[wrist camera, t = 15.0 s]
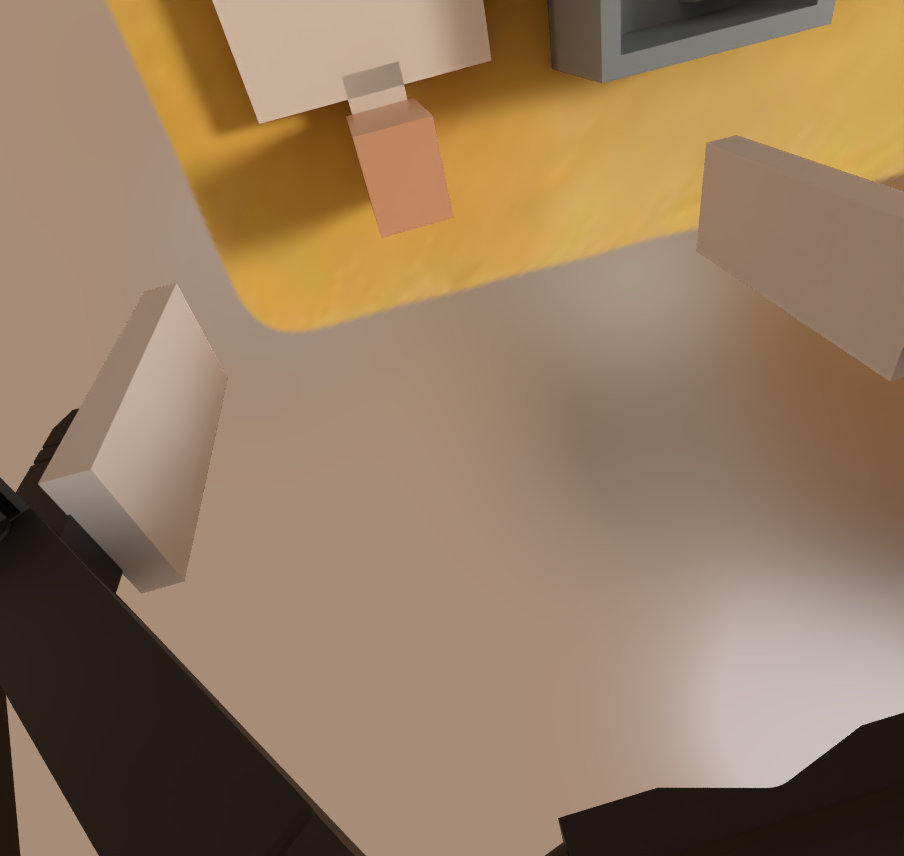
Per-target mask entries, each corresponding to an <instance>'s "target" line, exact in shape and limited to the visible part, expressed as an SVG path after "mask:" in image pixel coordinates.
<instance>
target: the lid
mask: <svg viewBox="0 0 904 856" xmlns="http://www.w3.org/2000/svg"><path fill="white" fill-rule="evenodd" d="M212 1H213V4H214V6H215V9H216V12H217V14H218V17H219V20H220V22H221V25H222V27H223V30H224V33H225V35H226V38H227V41H228V43H229V46H230V49H231V51H232V54H233V56H234V59H235V62H236V64H237V67H238V70H239V72H240V75H241V77H242V80H243V83H244V85H245V88H246V91H247V93H248V96H249V98H250V101H251V104H252V106H253V109H254V112H255V114H256V117H257V120H258V122H259V124H261V123H265V122H268V121H272V120H276V119H279V118H283V117H287V116H290V115H294V114H298V113H301V112H305V111H309V110H312V109H316V108H320V107H323V106H327V105H331V104H334V103H338V102H342V101H345V100H348V102H349V106H350V109H351V113H352V115H349V116H346V118H347V122H348V125H349V129H350V132H351V136H352V139H353V143H354V146H355V149H356V153H357V156H358V160H359V163H360V167H361V170H362V174H363V177H364V181H365V184H366V187H367V191H368V194H369V198H370V201H371V205H372V208H373V211H374V214H375V218H376V221H377V224H378V227H379V230H380V234H381V237H382V238H383V237H386V236H390V235H394V234H397V233H401V232H404V231H408V230H411V229H415V228H418V227H422V226H425V225H429V224H433V223H436V222H440V221H443V220H447V219H450V218H453V214H452V209H451V204H450V199H449V194H448V189H447V184H446V179H445V174H444V169H443V164H442V159H441V154H440V149H439V144H438V139H437V134H436V129H435V125H434V120H433V115H432V114H431V113H429V112H428V111H427V110H426V109H425V108H424V107H423V106H422V105H421V104H420V103H419V102H418V101H417V100H416V99H414V98H411V99H407V96H406V91H405V87H404V84H408V83H411V82H415V81H419V80H422V79H426V78H430V77H433V76H437V75H441V74H444V73H448V72H452V71H455V70H459V69H463V68H466V67H470V66H474V65H477V64H481V63H485V62H488V61H491V54H490V47H489V39H488V32H487V24H486V17H485V10H484V2H483V0H212Z"/></svg>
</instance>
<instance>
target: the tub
mask: <svg viewBox="0 0 904 856" xmlns="http://www.w3.org/2000/svg"><path fill="white" fill-rule="evenodd" d="M835 1H836V0H548V13H549V28H550V43H551V58H552V69H554V70H558V71H561V72H565V73H568V74H572V75H575V76H579V77H582V78H586V79H589V80H593V81H596V82H600V83H605V82H609V81H612V80H616V79H620V78H624V77H628V76H632V75H635V74H639V73H643V72H647V71H651V70H655V69H659V68H662V67H666V66H670V65H674V64H678V63H682V62H685V61H689V60H693V59H697V58H701V57H705V56H709V55H712V54H716V53H720V52H724V51H728V50H732V49H736V48H739V47H743V46H747V45H751V44H755V43H759V42H762V41H766V40H770V39H774V38H778V37H782V36H786V35H789V34H793V33H797V32H801V31H805V30H809V29H812V28H816V27H820V26H824V25H828V24H831V21H832V16H833V11H834V6H835Z"/></svg>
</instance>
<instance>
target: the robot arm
mask: <svg viewBox="0 0 904 856" xmlns="http://www.w3.org/2000/svg"><path fill="white" fill-rule="evenodd" d="M696 251H697V252H698V253H700V254H702V255H703V256H705V257H706V258H708V259H709V260H710V261H712V262H713V263H715V264H716V265H718V266H719V267H721V268H722V269H724V270H725V271H727V272H728V273H730V274H731V275H733V276H734V277H736V278H737V279H739V280H740V281H742V282H743V283H744V284H746V285H747V286H749V287H750V288H752V289H753V290H755V291H757V292H758V293H759V294H761V295H762V296H764V297H765V298H767V299H768V300H770V301H771V302H773V303H774V304H776V305H777V306H779V307H780V308H782V309H783V310H785V311H786V312H788V313H789V314H791V315H792V316H794V317H795V318H796V319H798V320H799V321H801V322H802V323H804V324H805V325H807V326H808V327H810V328H811V329H813V330H814V331H816V332H817V333H819V334H820V335H822V336H823V337H825V338H826V339H828V340H829V341H831V342H832V343H834V344H835V345H837V346H838V347H840V348H841V349H843V350H844V351H846V352H847V353H848V354H850V355H851V356H853V357H855V358H856V359H857V360H859V361H860V362H862V363H863V364H865V365H866V366H868V367H869V368H871V369H872V370H874V371H875V372H877V373H878V374H880V375H881V376H883V377H884V378H886V379H887V380H889V381H894V380H897V379H901V378H904V192H903V191H900V190H897V189H894V188H891V187H888V186H885V185H882V184H879V183H876V182H873V181H870V180H867V179H864V178H861V177H859V176H856V175H853V174H850V173H847V172H844V171H841V170H838V169H835V168H832V167H829V166H826V165H823V164H820V163H817V162H814V161H811V160H808V159H805V158H802V157H799V156H796V155H793V154H790V153H787V152H785V151H782V150H779V149H776V148H773V147H770V146H767V145H764V144H761V143H758V142H755V141H752V140H749V139H746V138H743V137H740V136H737V135H735V136H731V137H728V138H724V139H720V140H716V141H712V142H709V143H706V153H705V164H704V175H703V186H702V196H701V207H700V218H699V229H698V240H697V250H696ZM227 380H228V378H227V376H226V374H225V372H224V370H223V368H222V366H221V365H220V363H219V361H218V359H217V357H216V355H215V353H214V352H213V350H212V348H211V346H210V345H209V342H208V341H207V339H206V337H205V335H204V333H203V331H202V329H201V328H200V326H199V324H198V322H197V320H196V318H195V317H194V315H193V313H192V311H191V309H190V308H189V306H188V304H187V302H186V300H185V298H184V296H183V294H182V293H181V291H180V289H179V287H178V285H177V283H174V284H171V285H167V286H163V287H159V288H156V289H152V290H148V291H145V292H144V293H143V295H142V297H141V298H140V300H139V302H138V304H137V306H136V307H135V309H134V311H133V313H132V315H131V316H130V318H129V320H128V322H127V324H126V325H125V327H124V329H123V331H122V333H121V335H120V336H119V338H118V340H117V342H116V344H115V345H114V347H113V349H112V351H111V353H110V354H109V356H108V358H107V360H106V362H105V363H104V365H103V367H102V369H101V371H100V372H99V374H98V376H97V378H96V380H95V381H94V383H93V385H92V387H91V389H90V390H89V392H88V394H87V396H86V398H85V400H84V401H83V403H82V405H81V407H80V408H79V409H75V410H72V411H71V412H70V413H69V414H68V415H67V416H66V417H65V418H64V419H63V420H62V421H61V422H60V423H59V424H58V425H57V426H55V427H54V428H53V430H52V431H51V433H50V435H49V437H48V438H47V440H46V442H45V443H44V445H43V450H41V451H40V452H39V454H38V455H37V457H36V459H35V460H34V464H35V465H33V466H31V467H30V469H29V471H28V472H27V474H26V476H25V478H24V479H23V481H22V482H21V484H20V486H19V488H18V489H17V491H16V493H15V492H14V491H13V490H12V489H11V488H10V487H9V486H8V485H7V484H6V483H5V482H4V481H3V480H2V479H1V478H0V856H20V847H19V836H18V826H17V814H16V803H15V792H14V781H13V770H12V759H11V747H10V736H9V726H8V714H7V703H6V696H7V697H8V699H9V701H10V703H11V704H12V706H13V708H14V710H15V711H16V713H17V715H18V716H19V718H20V720H21V722H22V723H23V725H24V727H25V728H26V730H27V732H28V734H29V736H30V737H31V739H32V741H33V742H34V744H35V746H36V748H37V749H38V751H39V753H40V755H41V756H42V758H43V760H44V762H45V763H46V765H47V766H48V769H49V770H50V772H51V774H52V775H53V777H54V779H55V781H56V782H57V784H58V786H59V788H60V789H61V791H62V793H63V795H64V796H65V798H66V800H67V801H68V803H69V805H70V807H71V808H72V810H73V812H74V814H75V815H76V817H77V819H78V820H79V822H80V824H81V826H82V827H83V829H84V831H85V833H86V834H87V836H88V838H89V840H90V841H91V843H92V845H93V847H94V848H95V850H96V851H97V853H98V855H99V856H366V855H365V854H364V853H363V852H362V851H361V850H360V849H359V848H358V847H357V846H356V845H355V844H354V843H353V842H352V841H351V840H350V839H349V838H348V837H347V836H346V834H344V832H343V831H342V830H341V829H340V828H339V827H338V826H337V825H336V824H335V823H334V822H333V821H332V820H331V819H330V818H329V817H328V816H327V814H325V812H324V811H323V810H322V809H321V808H320V807H319V806H318V805H317V804H316V803H315V802H314V801H313V800H312V799H311V798H310V797H309V796H308V795H307V793H306V792H304V790H303V789H302V788H301V787H300V786H299V785H298V784H297V783H296V782H295V781H294V780H293V779H292V778H291V777H290V776H289V775H288V774H287V772H286V771H285V770H284V769H283V768H282V767H281V766H280V765H279V764H278V763H277V762H276V761H275V760H274V759H273V758H272V757H271V756H270V755H269V754H268V753H267V752H266V751H265V749H264V748H263V747H262V746H261V745H260V744H259V743H258V742H257V741H256V740H255V739H254V738H253V737H252V736H251V735H250V734H249V733H248V732H247V731H246V729H245V728H244V727H243V726H242V725H241V724H240V723H239V722H238V721H237V720H236V719H235V718H234V717H233V716H232V715H231V714H230V713H229V712H228V711H227V709H226V708H225V707H224V706H223V705H222V704H221V703H220V702H219V701H218V700H217V699H216V698H215V697H214V696H213V695H212V694H211V693H210V692H209V691H208V690H207V689H206V687H205V686H204V685H203V684H202V683H201V682H200V681H199V680H198V679H197V678H196V677H195V676H194V675H193V674H192V673H191V672H190V671H189V670H188V669H187V668H186V667H185V665H184V664H183V663H182V662H181V661H180V660H179V659H178V658H177V657H176V656H175V655H174V654H173V653H172V652H171V651H170V650H169V649H168V648H167V646H166V645H165V644H164V643H163V642H162V641H161V640H160V639H159V638H158V637H157V636H156V635H155V634H154V633H153V632H152V631H151V630H150V629H149V628H148V627H147V625H146V624H145V623H144V622H143V621H142V620H141V619H140V618H139V617H138V616H137V615H136V614H135V613H134V612H133V611H132V610H131V609H130V608H129V607H128V606H127V604H126V603H124V602H123V600H121V598H120V597H119V596H118V595H117V594H116V591H117V588H118V585H119V582H120V579H121V576H122V574H123V575H124V576H125V577H126V578H127V579H128V580H129V581H130V582H131V583H132V584H133V585H134V586H135V587H136V588H137V589H138V590H139V592H140V593H145V592H148V591H152V590H155V589H158V588H162V587H166V586H169V585H173V584H176V583H180V582H183V581H185V576H186V571H187V567H188V562H189V558H190V553H191V548H192V543H193V539H194V534H195V530H196V525H197V520H198V515H199V511H200V506H201V501H202V496H203V492H204V487H205V483H206V478H207V473H208V469H209V464H210V459H211V454H212V450H213V445H214V440H215V436H216V431H217V426H218V422H219V417H220V412H221V408H222V403H223V398H224V393H225V389H226V384H227ZM558 820H559V824H560V829H561V834H562V838H563V843H562V844H560V845H559V846H558V847H556V848H555V849H553V850H552V851H551V852H549V853H548V854H547V855H545V856H904V713H901V714H898V715H895V716H891V717H888V718H885V719H882V720H878V721H875V722H872V723H868V724H865V725H862V726H860V727H859V728H858V729H856V730H855V731H854V732H853V733H851V734H850V735H849V736H847V737H846V738H845V739H843V740H842V741H841V742H839V743H838V744H837V745H835V746H834V747H833V748H831V749H830V750H829V751H827V752H826V753H825V754H824V755H822V756H821V757H820V758H818V759H817V760H816V761H814V762H813V763H812V764H810V765H809V766H808V767H806V768H805V769H804V770H803V771H801V772H800V773H799V774H797V775H796V776H795V777H793V778H792V779H791V780H789V781H788V782H786V783H785V784H783V785H780V786H778V787H773V788H655V789H652V790H649V791H645V792H642V793H639V794H636V795H632V796H629V797H626V798H623V799H619V800H616V801H613V802H609V803H607V804H603V805H600V806H596V807H593V808H590V809H586V810H583V811H580V812H577V813H573V814H570V815H567V816H564V817H561V818H558Z"/></svg>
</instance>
